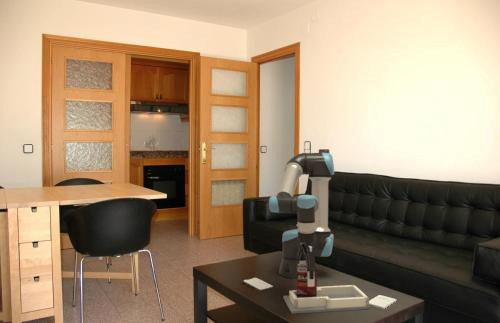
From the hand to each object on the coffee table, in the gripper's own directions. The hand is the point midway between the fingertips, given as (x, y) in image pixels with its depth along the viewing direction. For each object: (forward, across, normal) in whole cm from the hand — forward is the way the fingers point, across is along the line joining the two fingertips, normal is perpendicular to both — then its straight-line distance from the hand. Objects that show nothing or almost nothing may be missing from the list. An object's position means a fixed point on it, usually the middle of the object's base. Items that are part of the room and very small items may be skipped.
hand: (306, 280), depth 171 cm
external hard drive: (+11, +3, +32) cm, 34 cm away
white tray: (+10, 0, +7) cm, 12 cm away
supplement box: (+9, 0, 0) cm, 9 cm away
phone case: (+11, -26, -18) cm, 33 cm away
